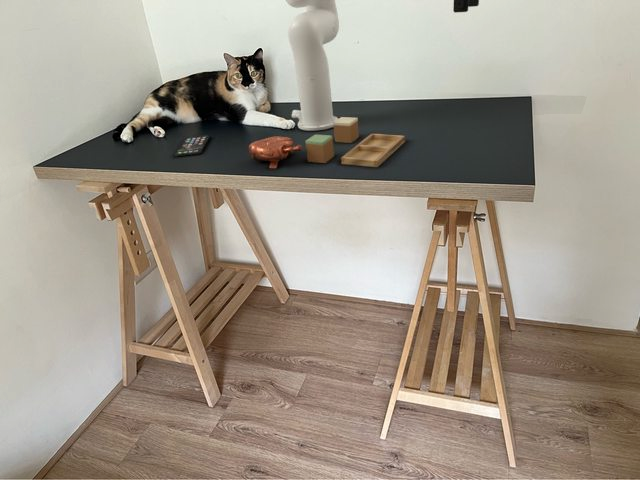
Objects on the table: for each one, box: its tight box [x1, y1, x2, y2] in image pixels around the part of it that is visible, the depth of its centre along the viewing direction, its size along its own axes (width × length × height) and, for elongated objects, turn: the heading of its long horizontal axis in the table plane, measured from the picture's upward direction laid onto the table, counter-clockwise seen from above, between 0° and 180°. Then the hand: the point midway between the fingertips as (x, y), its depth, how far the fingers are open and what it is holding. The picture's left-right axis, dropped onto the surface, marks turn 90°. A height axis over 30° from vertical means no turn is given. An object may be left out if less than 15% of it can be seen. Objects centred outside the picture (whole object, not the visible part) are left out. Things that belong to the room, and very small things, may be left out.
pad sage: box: [305, 134, 335, 164], centre depth 124 cm, size 5×5×6 cm
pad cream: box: [333, 116, 360, 144], centre depth 135 cm, size 5×5×6 cm
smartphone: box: [174, 134, 210, 157], centre depth 145 cm, size 7×1×15 cm
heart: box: [248, 136, 303, 169], centre depth 126 cm, size 6×12×15 cm
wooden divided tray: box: [340, 133, 406, 168], centre depth 125 cm, size 10×18×2 cm, turn 150°
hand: (466, 9), depth 115 cm, fingers open, 9 cm apart
